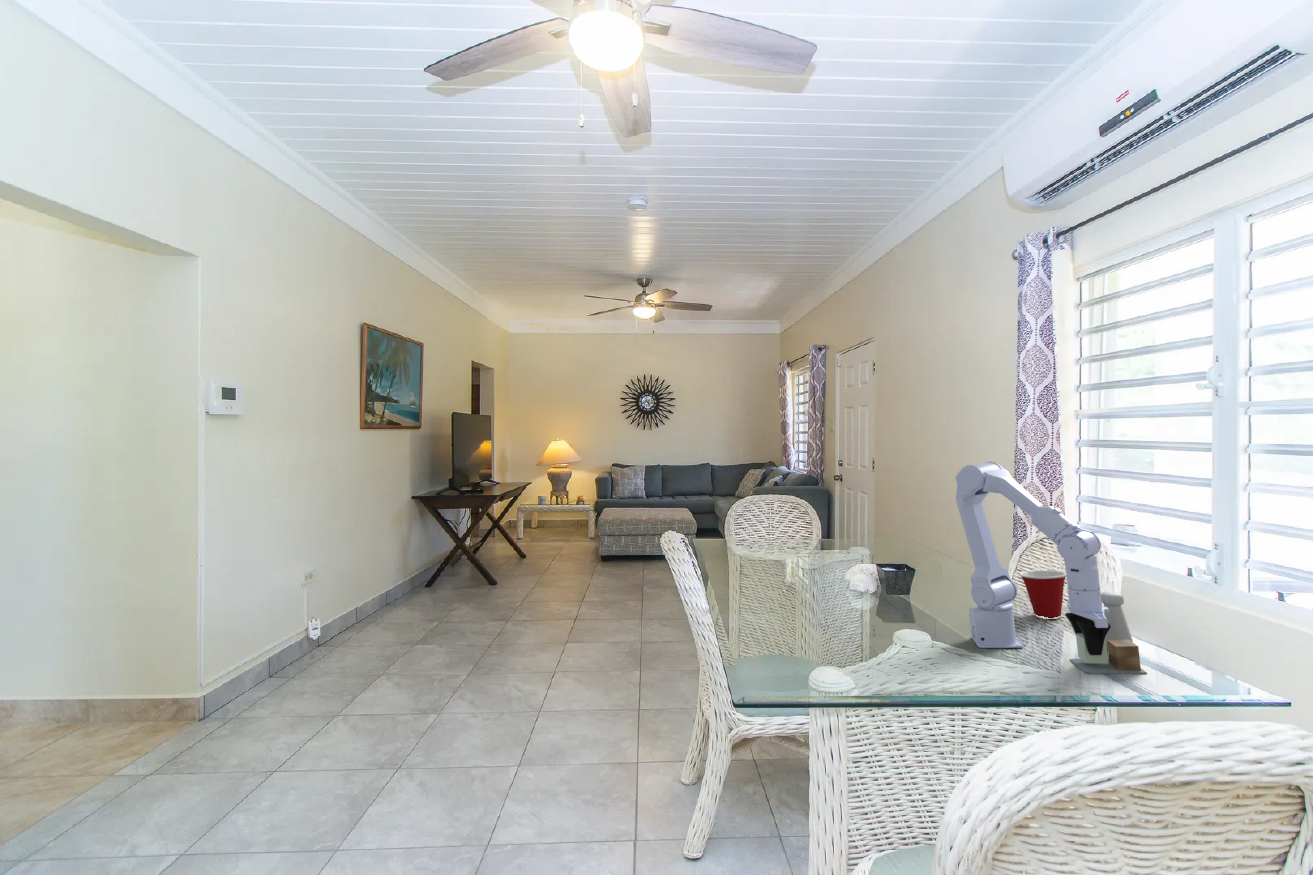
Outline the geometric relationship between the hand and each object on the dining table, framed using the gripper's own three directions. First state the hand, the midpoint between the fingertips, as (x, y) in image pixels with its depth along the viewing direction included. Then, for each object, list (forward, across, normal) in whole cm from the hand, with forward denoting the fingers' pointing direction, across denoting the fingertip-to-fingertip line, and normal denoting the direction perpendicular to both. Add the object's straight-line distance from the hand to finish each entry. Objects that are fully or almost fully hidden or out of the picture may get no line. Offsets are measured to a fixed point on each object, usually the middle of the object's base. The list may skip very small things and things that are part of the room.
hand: (1090, 650), depth 127 cm
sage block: (+2, 0, 0) cm, 2 cm away
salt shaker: (+3, +9, -8) cm, 13 cm away
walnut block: (+3, -1, -6) cm, 6 cm away
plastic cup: (+3, +34, -3) cm, 35 cm away
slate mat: (+3, 0, -2) cm, 4 cm away
